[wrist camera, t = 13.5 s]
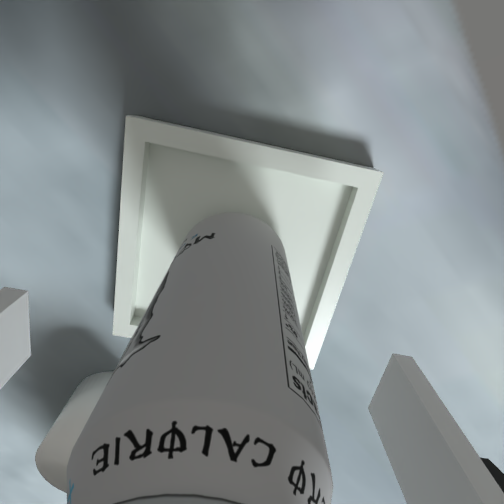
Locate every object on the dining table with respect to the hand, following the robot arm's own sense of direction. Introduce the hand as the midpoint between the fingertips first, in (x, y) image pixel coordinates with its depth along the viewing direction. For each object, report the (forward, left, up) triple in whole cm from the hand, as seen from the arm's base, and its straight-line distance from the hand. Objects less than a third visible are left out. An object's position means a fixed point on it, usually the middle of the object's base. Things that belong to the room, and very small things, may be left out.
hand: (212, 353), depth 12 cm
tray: (0, 0, -9) cm, 9 cm away
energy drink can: (0, 0, -9) cm, 9 cm away
